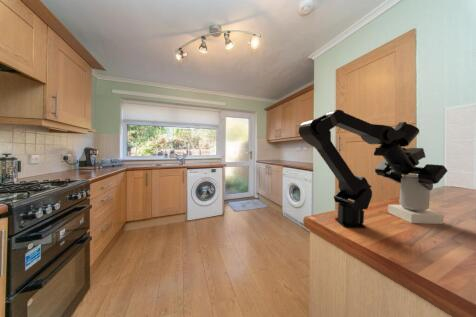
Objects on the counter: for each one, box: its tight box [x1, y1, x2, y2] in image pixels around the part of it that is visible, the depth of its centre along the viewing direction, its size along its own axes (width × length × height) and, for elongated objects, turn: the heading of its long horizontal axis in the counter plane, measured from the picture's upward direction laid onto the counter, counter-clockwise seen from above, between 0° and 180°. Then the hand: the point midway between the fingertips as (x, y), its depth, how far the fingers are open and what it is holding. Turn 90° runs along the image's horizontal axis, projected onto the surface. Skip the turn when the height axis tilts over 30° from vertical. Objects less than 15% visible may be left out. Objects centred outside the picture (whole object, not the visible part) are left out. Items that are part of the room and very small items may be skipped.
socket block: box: [387, 204, 445, 225], centre depth 63 cm, size 10×10×3 cm
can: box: [398, 173, 431, 211], centre depth 63 cm, size 8×8×12 cm
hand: (417, 186), depth 63 cm, fingers closed on can, 7 cm apart
